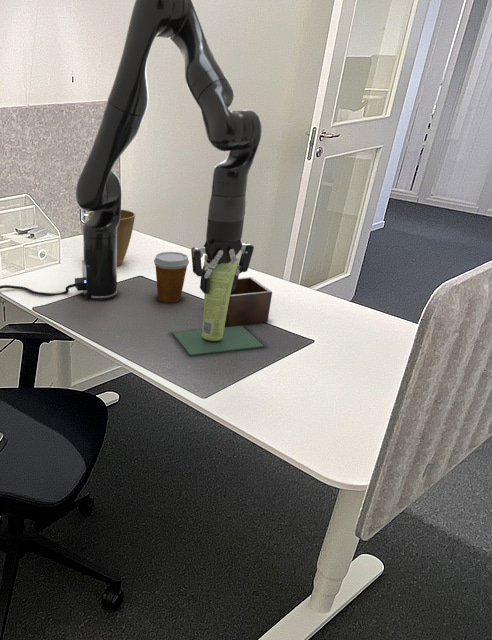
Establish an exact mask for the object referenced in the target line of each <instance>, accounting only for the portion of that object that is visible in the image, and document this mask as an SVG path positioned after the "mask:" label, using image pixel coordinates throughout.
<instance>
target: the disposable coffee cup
mask: <svg viewBox="0 0 492 640" xmlns="http://www.w3.org/2000/svg"><path fill="white" fill-rule="evenodd" d="M153 263H154V265H155V277H156V288H157V299H158V300H159V301H161V302H163V303H176V302H179V301H180V300H181V299H182V293H183V288H184V284H185V280H186V273H187V269H188V265H189V264H190V260H189V256H188V255H187V254H185V253H183V252H178V251H164V252H159V253H157V254H156V255H155V258H154V259H153Z"/></svg>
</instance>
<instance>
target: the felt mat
mask: <svg viewBox="0 0 492 640" xmlns="http://www.w3.org/2000/svg"><path fill="white" fill-rule="evenodd" d="M172 335H173V337H174V338H175V339H176V340H177V342H178V343H179V344H180V346H181V347H182V348H183V349H184V350H185V352H187V354H188V355H189V356H190V357H193V356H201V355H202V356H203V355H210V354H217V353H218V354H220V353H227V352H236V351H244V350H253V349H260V348H261V349H262V348H264V345H263V344H262V343H261V342H260V341H259V340H258V339H257V338H256V337H255V336H254V335H253V334H251V333H250V332H249V331H248V330H247V329H246V328H245V327H244V326H243V325H234V326H225V327H224V333H223V338H222V339H221V340H218V341H210V340H206V339H204V338H203V337H202V329H198V330H189V331H180V332H179V331H178V332H173V333H172Z"/></svg>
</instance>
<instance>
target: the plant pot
mask: <svg viewBox="0 0 492 640" xmlns="http://www.w3.org/2000/svg"><path fill="white" fill-rule="evenodd" d="M92 213H93V211H89V212H88V214H87V217H88V219H89V218H90V217H91V215H92ZM135 219H136V213H135V212H134V211H132V210H131V211H130V210H127V209H121V213H120V222H119V225H118V228H117V267H118V266H121V265H122V264H123V263H124V260H125V257H126V254H127V252H128V248H129V245H130V243H131V238H132V234H133V229H134V225H135Z"/></svg>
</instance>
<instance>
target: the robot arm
mask: <svg viewBox="0 0 492 640" xmlns="http://www.w3.org/2000/svg"><path fill="white" fill-rule="evenodd" d="M128 24H129V25H128V29H127V33H126V37H125V41H124V45H123V50H122V53H121V57H120V61H119V64H118V66H117V70H116V73H115V77H114V80H113V83H112V87H111V89H110V92H109V95H108V98H107V101H106V104H105V107H104V110H103V114H102V116H101V121H100V123H99V127H98V130H97V132H96V135H95V138H94V141H93V144H92V147H91V150H90V152H89V154H88V157H87V159H86V162H85V163H84V166H83V168H82V171H81V172H80V175H79V177H78V180H77V183H76V187H75V199H76V202H77V204H78V206H79V208H80V209H82V211H84V212H85V211H86V212H92V211H93V213H92V215H91V217H90V218H88V219H87V220H86V221H85V222H84V223H83V226H82V238H83V240H82V241H83V242H82V243H83V246H82V247H83V259H82V260H81V262H82V263H81V268H82V269H81V271H82V272H81V273H82V274H81V275H82V276H81V277H75V278H74V283H72V284H68V285H67V286H65V290H64V291H61V292H56V293H55V292H54V293H53V292H52V293H51V292H43V291H36V290H33V289H30V288H29V287H27V286H22V285H21V286H20V285H11V284H9V285H8V284H2V285H0V290H2V289H12V290H21V291H26V292H28V293H30V294H32V295H36V296H46V297H53V296H60V295H67V294H68V293H69V292H70V291H69V289H71V288H75V289H76V291H77V292H82V294H83V295H84V297H85V298H86V300H96V301H97V300H98V301H104V300H110V299H113V298H115V297H116V296H117V295H118V290H117V289H118V281H117V279H118V278H117V274H118V272H117V270H118V266H117V228H118V225H119V222H120V213H121V210H122V186H121V181H120V179H119V177H118V175H117V174H116V173H115V172H114V171H112V169H113V168H114V166H115V164H116V162H117V161H118V159H119V158H120V157H121V155H123V153H124V152H125V151H126V149H128V147H129V146H130V144H131V143H132V142H133V140H134V139H135V137H136V136H137V134H138V132H139V130H140V128H141V126H142V123H143V120H144V117H145V115H146V112H147V109H148V106H149V87H148V86H149V85H148V79H147V64H148V59H149V55H150V52H151V49H152V46H153V43H154V42H155V39H156V38H162V39H170V40H171V41H172V42H173V43H174V45H176V48H178V49H179V51H180V53H181V55H182V57H183V63H184V65H183V71H184V73H183V74H184V79H185V83H186V86H187V89H188V91H189V92H190V94H191V96H192V98H193V99H194V101H195V104H197V107H198V108H199V110H200V112H201V117H202V121H203V126H204V130H205V133H206V138H207V140H208V142H209V143H210V145H211V146H212V147H213V148H214V149H215V150H217V151H220V152H228V154H227V157H226V158H225V160H223V161H222V162H220V163H218V164H216V166H214V168H213V172H212V182H211V193H210V199H209V203H208V212H207V224H206V234H205V238H206V240H205V243H204V245H203V246H200V247H195V246H192V248H190V252H191V253H190V254H191V267H192V273H193V274H195V275H196V276H197V277H200V284H199V288H200V291H201V292H202V293H203V294H204V295H205V294H208V293H209V283H210V278H209V276H210V274H211V272H212V270H214V269H215V267H216V265H217V264H221V263H229V262H230V261H231V263H232V265H233V264H234V262H236V258H237V255H238V254H239V253H240V252H241V254H240V258H239V262H238V265H237V268H236V272H235V276H234V280H233V284H232V289H231V291H235V288H237V284H238V278H239V276H240V275H241V274H242V273H246V272H247V271H248V270H249V267H250V264H251V261H252V257H253V253H254V249H255V246H254V245H253V244H251V243H249V242H245V243H242V237H243V231H244V224H245V223H244V221H245V215H246V205H247V204H246V203H247V201H246V200H247V199H246V198H247V197H246V196H247V195H246V194H247V187H248V179H249V173H250V170H251V167H252V165H253V162H254V160H255V158H256V157H255V156H256V154H257V152H258V148H259V145H260V142H261V140H262V132H263V130H262V127H263V126H262V121H261V118H260V116H259V114H258V113H257V112H256V111H254V110H252V109H241V110H230V107H231V106H232V104H233V102H234V98H235V92H234V89H233V86H232V84H231V83H230V81H229V79H228V78H227V76H226V75H225V73H224V71H223V70H222V68H221V67H220V65H219V64H218V62H217V59H216V58H215V56H214V54H213V52H212V49H211V48H210V46H209V43H208V41H207V38H206V35H205V32H204V30H203V28H202V25H201V22H200V20H199V16H198V14H197V11H196V9H195V5H194V2H193V1H192V0H135V1H134V5H133V7H132V11H131V17H130V20H129V23H128ZM204 254H205V255H207V257H206V259H204V260H203V261H204V262H203V265H202V258H203V257H204ZM210 261H212V262H211V263H210Z"/></svg>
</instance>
